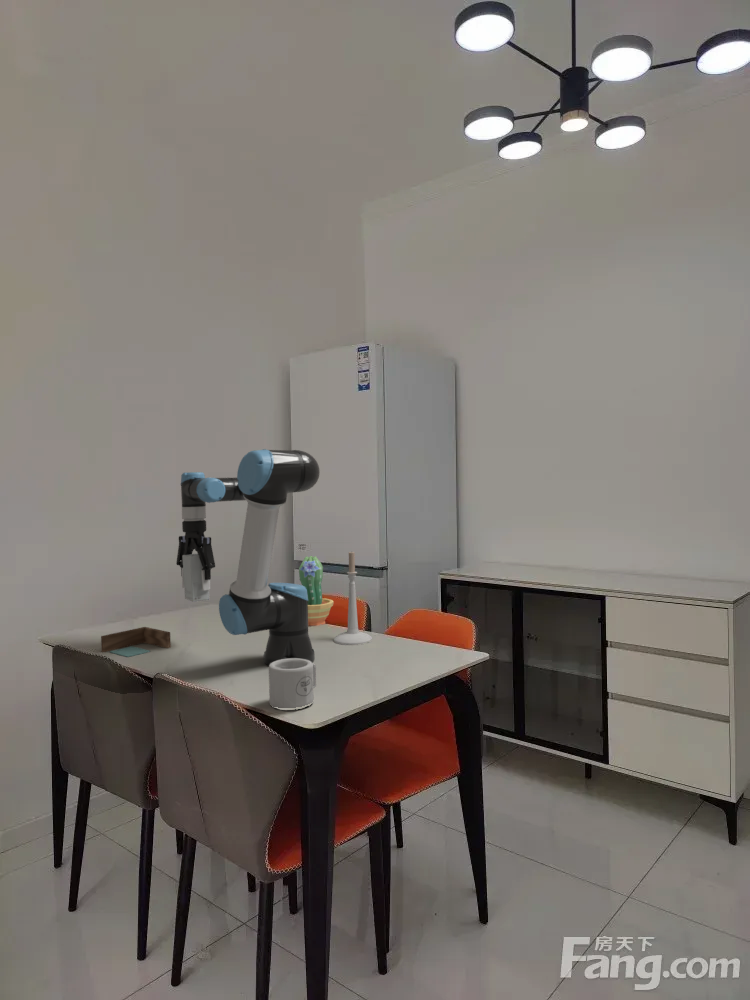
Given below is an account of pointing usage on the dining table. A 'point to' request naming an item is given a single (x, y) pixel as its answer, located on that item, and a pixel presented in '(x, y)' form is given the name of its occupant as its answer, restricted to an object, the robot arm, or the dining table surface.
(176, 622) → the dining table surface
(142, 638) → the wooden corner bracket
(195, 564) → the skincare box
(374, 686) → the dining table surface
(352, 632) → the candlestick
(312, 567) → the potted cactus
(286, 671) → the mug
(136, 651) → the pad
